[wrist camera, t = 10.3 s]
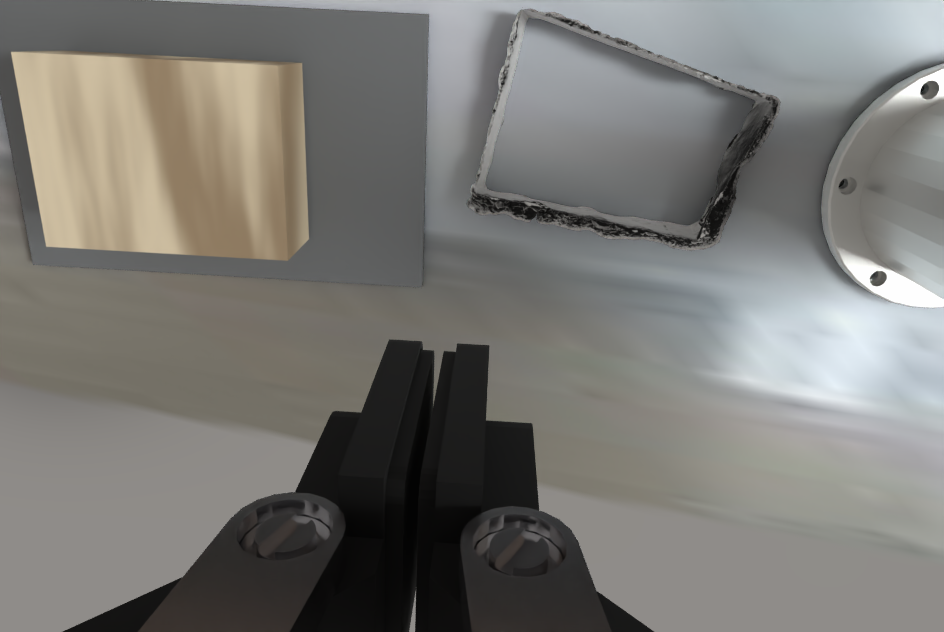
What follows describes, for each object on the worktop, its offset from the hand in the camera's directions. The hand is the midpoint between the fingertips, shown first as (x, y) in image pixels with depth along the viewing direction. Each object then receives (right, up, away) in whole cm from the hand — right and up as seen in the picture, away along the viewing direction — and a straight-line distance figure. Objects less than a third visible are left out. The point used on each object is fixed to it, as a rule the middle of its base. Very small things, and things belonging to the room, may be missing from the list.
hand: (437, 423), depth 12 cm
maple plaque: (-8, +9, +23) cm, 26 cm away
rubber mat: (-13, +11, +26) cm, 31 cm away
